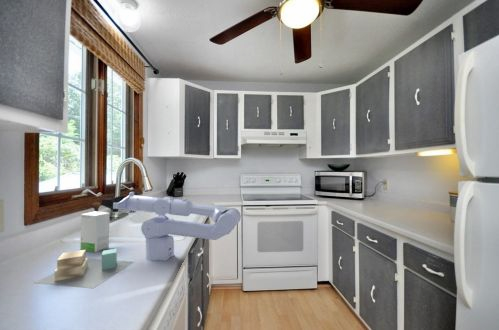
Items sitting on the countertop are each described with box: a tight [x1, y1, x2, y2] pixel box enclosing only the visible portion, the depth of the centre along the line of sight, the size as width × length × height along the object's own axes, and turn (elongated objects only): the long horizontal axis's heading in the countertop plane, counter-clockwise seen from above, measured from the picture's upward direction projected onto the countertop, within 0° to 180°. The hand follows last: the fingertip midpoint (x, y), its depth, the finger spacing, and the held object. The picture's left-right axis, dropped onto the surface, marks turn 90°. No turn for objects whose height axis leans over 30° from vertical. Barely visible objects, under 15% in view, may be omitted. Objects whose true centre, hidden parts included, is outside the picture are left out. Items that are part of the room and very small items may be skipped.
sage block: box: [101, 248, 118, 270], centre depth 75 cm, size 4×4×5 cm
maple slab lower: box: [54, 257, 89, 281], centre depth 70 cm, size 7×7×3 cm
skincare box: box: [79, 210, 111, 253], centre depth 92 cm, size 8×7×16 cm
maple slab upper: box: [56, 249, 87, 270], centre depth 70 cm, size 6×6×3 cm
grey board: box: [33, 258, 135, 289], centre depth 71 cm, size 20×17×1 cm
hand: (110, 200), depth 86 cm, fingers open, 7 cm apart
